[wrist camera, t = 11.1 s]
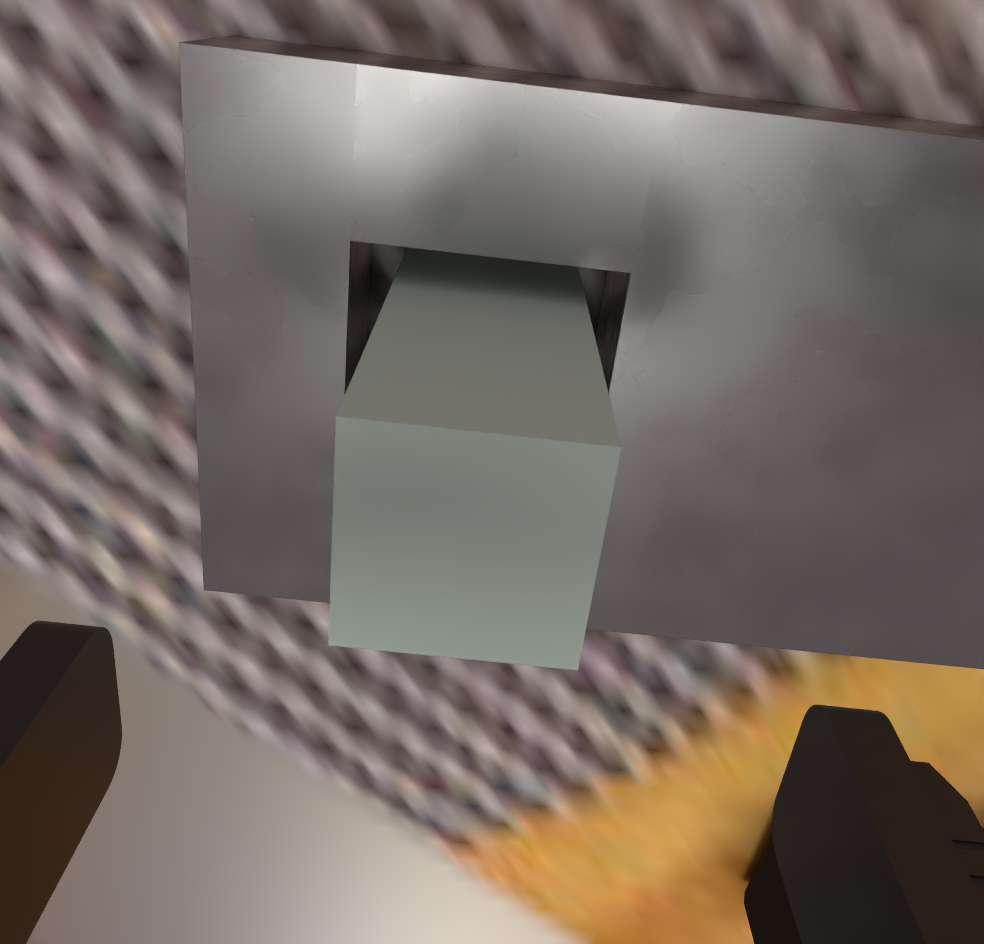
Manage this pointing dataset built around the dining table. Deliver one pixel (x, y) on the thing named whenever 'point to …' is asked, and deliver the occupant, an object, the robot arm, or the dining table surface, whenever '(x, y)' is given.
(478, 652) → the sage green square post
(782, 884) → the electronic device
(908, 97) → the dining table surface
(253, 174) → the grey peg hole base
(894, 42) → the dining table surface
